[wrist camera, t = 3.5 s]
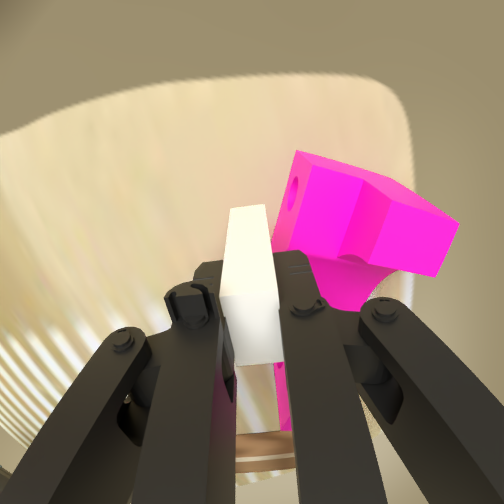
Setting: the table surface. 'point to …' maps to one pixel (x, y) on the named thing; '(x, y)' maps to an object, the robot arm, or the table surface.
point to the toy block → (354, 235)
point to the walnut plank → (264, 452)
